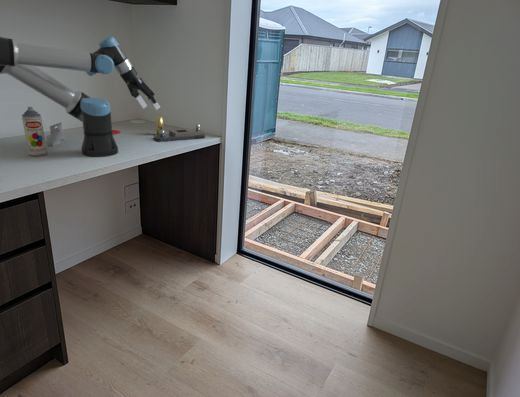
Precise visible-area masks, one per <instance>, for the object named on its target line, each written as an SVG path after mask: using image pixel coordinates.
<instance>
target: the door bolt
mask: <svg viewBox="0 0 520 397" xmlns="http://www.w3.org/2000/svg"><path fill="white" fill-rule="evenodd" d="M205 133H206V131H205V130H203V129H201V124H198V123H197V124H195V128H185V129H183V128H182V129H169V130H168V133H165V129H164V130H160V134H154V135H153V138H154V139H155V140H157V141H158V142H161V143H162V142H174V141H177V142H178V141H188V140H189V141H190V140H200V139H206V134H205Z"/></svg>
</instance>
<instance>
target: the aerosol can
mask: <svg viewBox="0 0 520 397" xmlns="http://www.w3.org/2000/svg"><path fill="white" fill-rule="evenodd" d="M21 116H22V117H21V119H22V124H23V130H24V135H25V142H26V147H27V152H28V156H29V157H36V158H37V157H43V156H46V155H48V151H47V150H48V149H47V145H46V143H47V142H46V136H45V132H44V125H43V120H42V115H41V114H40V113H39V112H38V111H36V110H35V109H34V107H33V106H28V107H27V110H26V111H25V112H24V113H23V114H21Z"/></svg>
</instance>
